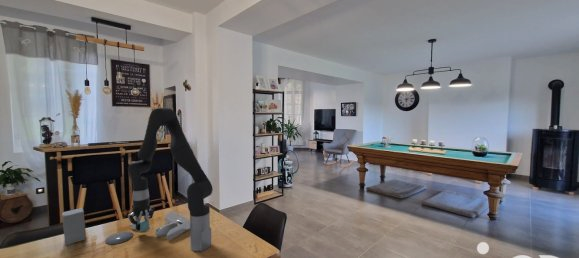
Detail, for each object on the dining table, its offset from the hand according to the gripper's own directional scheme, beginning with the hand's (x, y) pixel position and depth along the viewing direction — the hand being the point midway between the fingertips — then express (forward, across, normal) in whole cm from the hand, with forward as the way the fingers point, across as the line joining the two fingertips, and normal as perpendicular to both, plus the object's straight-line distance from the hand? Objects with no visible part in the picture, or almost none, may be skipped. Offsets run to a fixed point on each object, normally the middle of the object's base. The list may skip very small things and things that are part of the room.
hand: (142, 228), depth 131 cm
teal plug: (+1, 0, -1) cm, 1 cm away
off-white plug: (+4, +3, +10) cm, 12 cm away
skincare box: (+4, -21, +25) cm, 33 cm away
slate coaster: (+4, -8, +8) cm, 12 cm away
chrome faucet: (+5, +11, -8) cm, 14 cm away
